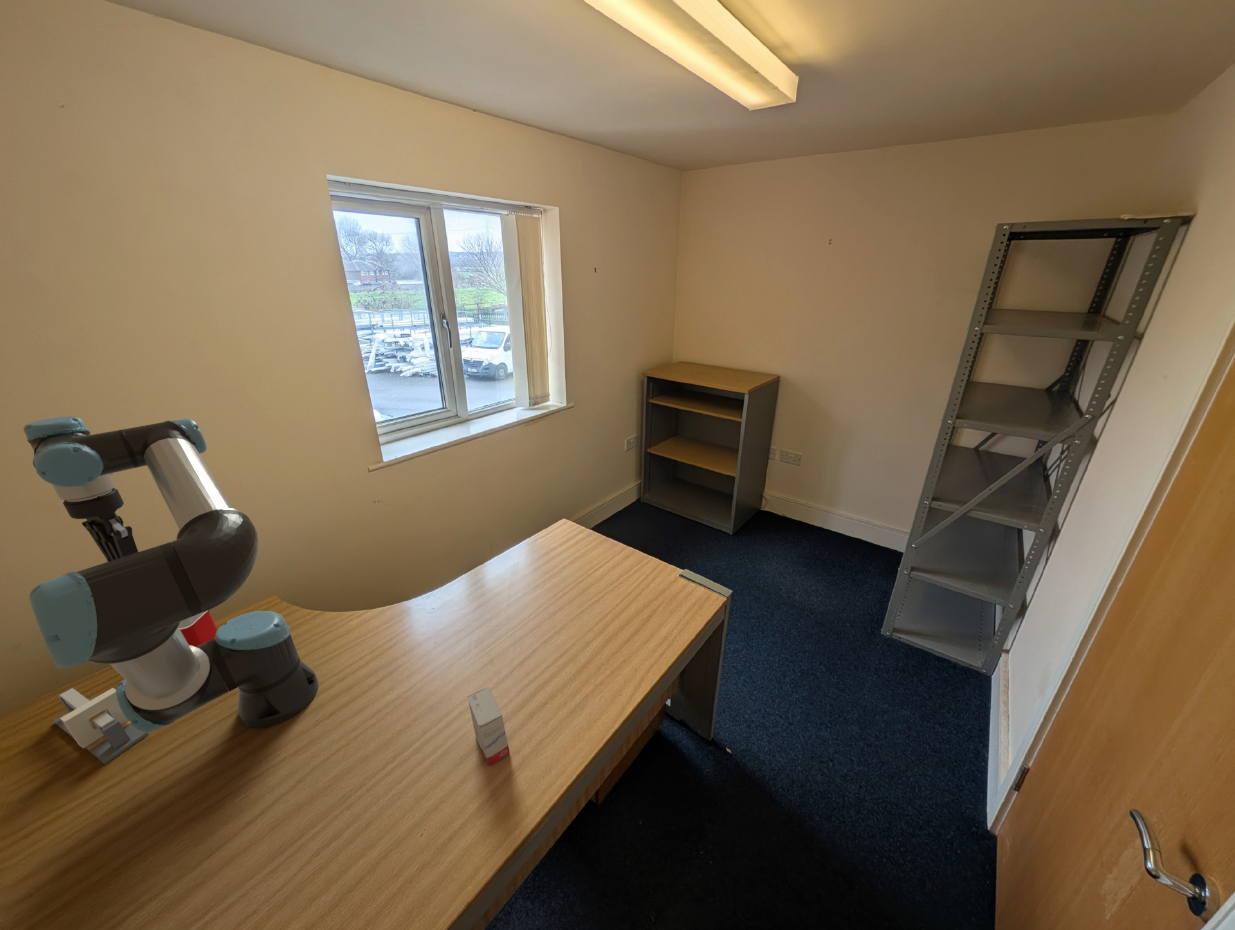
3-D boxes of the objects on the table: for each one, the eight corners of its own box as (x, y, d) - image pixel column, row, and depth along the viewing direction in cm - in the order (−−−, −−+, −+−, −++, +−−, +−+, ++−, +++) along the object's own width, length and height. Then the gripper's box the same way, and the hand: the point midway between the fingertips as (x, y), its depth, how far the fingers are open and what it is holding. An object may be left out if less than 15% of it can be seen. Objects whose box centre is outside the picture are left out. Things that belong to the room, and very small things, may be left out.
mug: (226, 636, 125) (212, 606, 121) (203, 660, 118) (188, 628, 113) (179, 639, 124) (164, 609, 120) (154, 663, 117) (137, 631, 113)
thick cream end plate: (133, 716, 100) (117, 690, 97) (83, 748, 94) (64, 721, 91) (128, 713, 101) (113, 687, 98) (78, 744, 94) (59, 718, 91)
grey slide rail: (148, 734, 99) (134, 711, 96) (104, 764, 93) (88, 740, 90) (97, 698, 107) (83, 676, 104) (54, 722, 101) (38, 700, 98)
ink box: (510, 754, 94) (504, 715, 90) (486, 768, 92) (479, 728, 87) (496, 723, 101) (490, 684, 96) (473, 734, 98) (466, 696, 94)
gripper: (132, 490, 91) (177, 586, 100) (97, 482, 96) (143, 574, 105) (81, 507, 85) (134, 607, 94) (46, 497, 89) (100, 593, 98)
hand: (139, 589), depth 99 cm, fingers closed
